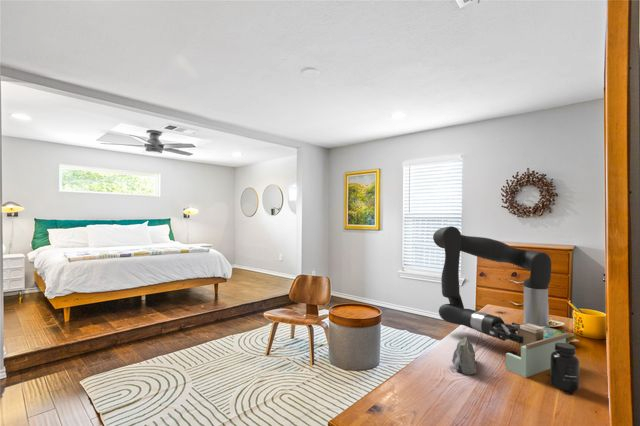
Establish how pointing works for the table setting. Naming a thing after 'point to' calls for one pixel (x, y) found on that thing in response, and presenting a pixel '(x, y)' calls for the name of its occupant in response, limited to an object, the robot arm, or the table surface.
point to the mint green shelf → (534, 356)
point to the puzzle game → (553, 332)
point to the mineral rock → (464, 357)
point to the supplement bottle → (564, 368)
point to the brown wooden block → (530, 334)
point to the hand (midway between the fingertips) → (530, 338)
